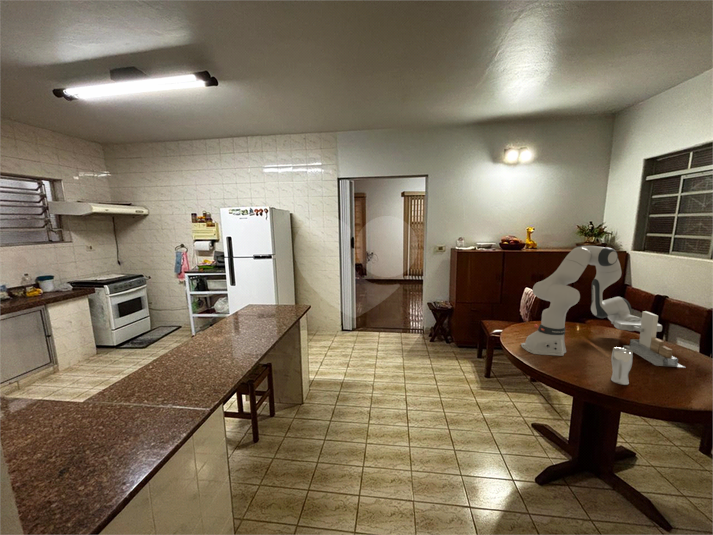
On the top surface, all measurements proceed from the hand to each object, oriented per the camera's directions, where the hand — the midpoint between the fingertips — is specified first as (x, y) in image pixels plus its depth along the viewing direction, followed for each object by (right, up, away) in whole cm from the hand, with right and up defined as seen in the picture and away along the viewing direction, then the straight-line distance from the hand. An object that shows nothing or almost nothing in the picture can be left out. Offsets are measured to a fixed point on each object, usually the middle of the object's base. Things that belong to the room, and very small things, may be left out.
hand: (647, 330), depth 154 cm
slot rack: (-1, -14, -3) cm, 14 cm away
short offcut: (-3, -14, -11) cm, 18 cm away
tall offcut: (-1, -13, -6) cm, 14 cm away
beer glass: (-37, -18, -24) cm, 48 cm away
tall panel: (0, -12, +1) cm, 12 cm away
